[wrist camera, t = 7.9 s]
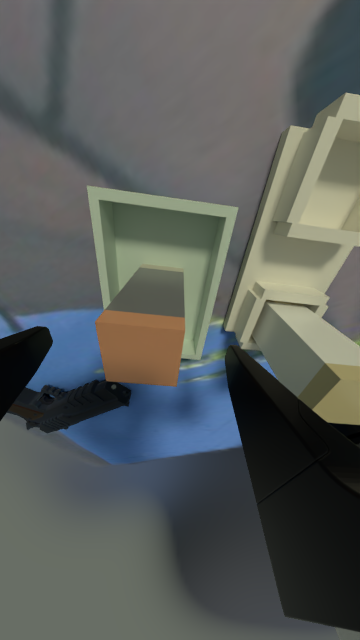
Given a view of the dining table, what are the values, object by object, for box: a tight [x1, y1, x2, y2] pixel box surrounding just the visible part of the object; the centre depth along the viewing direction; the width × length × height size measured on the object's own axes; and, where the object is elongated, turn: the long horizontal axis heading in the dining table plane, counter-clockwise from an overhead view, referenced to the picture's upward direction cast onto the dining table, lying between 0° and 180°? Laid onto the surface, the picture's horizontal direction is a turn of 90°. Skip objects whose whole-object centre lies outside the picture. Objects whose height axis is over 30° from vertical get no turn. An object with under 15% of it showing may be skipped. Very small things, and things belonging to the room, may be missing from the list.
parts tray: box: [87, 186, 238, 360], centre depth 15 cm, size 13×9×3 cm
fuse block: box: [223, 93, 360, 351], centre depth 14 cm, size 16×8×3 cm, turn 173°
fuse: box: [252, 300, 360, 425], centre depth 13 cm, size 4×4×9 cm
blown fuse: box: [95, 264, 185, 387], centre depth 12 cm, size 4×4×9 cm
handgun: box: [7, 380, 131, 433], centre depth 24 cm, size 3×20×15 cm
